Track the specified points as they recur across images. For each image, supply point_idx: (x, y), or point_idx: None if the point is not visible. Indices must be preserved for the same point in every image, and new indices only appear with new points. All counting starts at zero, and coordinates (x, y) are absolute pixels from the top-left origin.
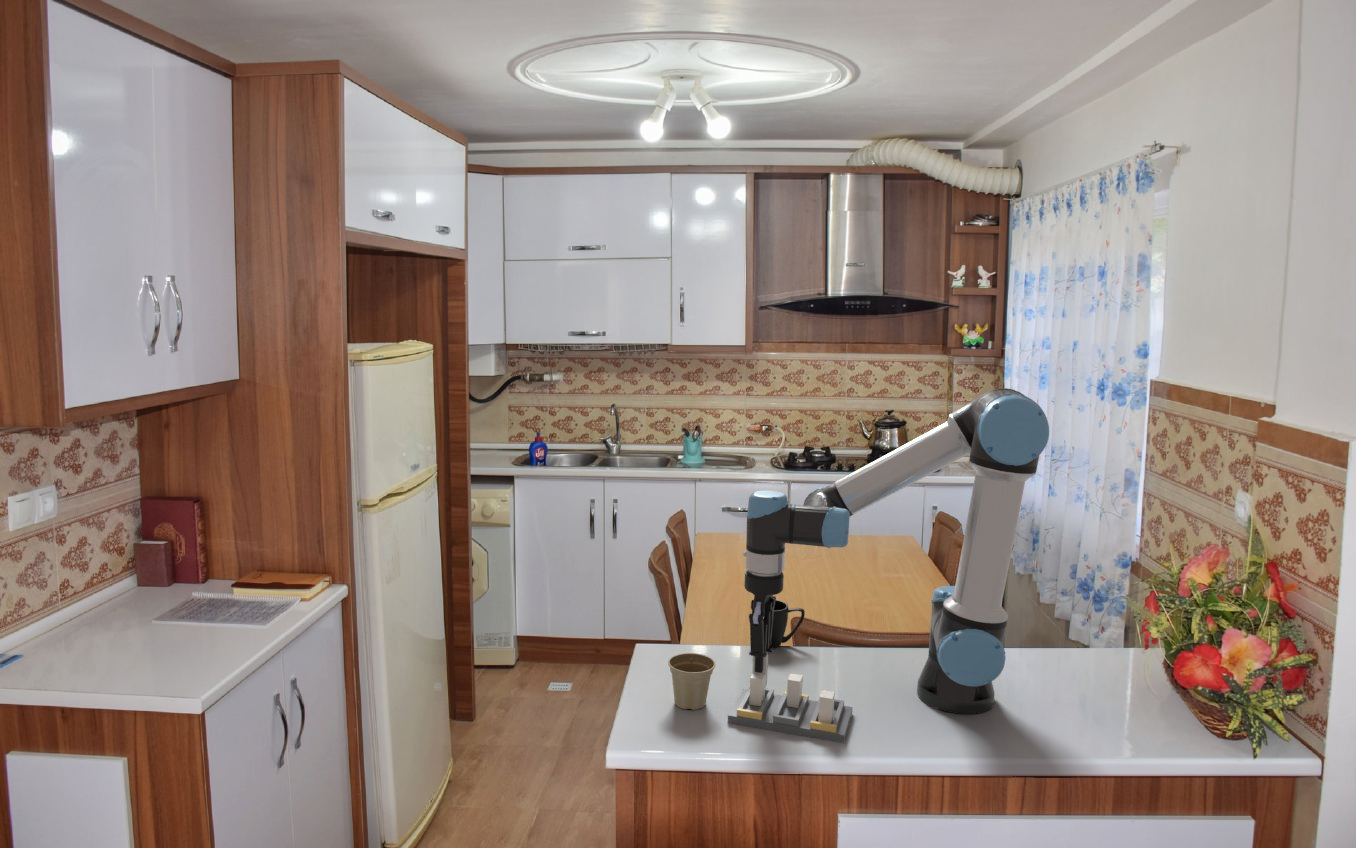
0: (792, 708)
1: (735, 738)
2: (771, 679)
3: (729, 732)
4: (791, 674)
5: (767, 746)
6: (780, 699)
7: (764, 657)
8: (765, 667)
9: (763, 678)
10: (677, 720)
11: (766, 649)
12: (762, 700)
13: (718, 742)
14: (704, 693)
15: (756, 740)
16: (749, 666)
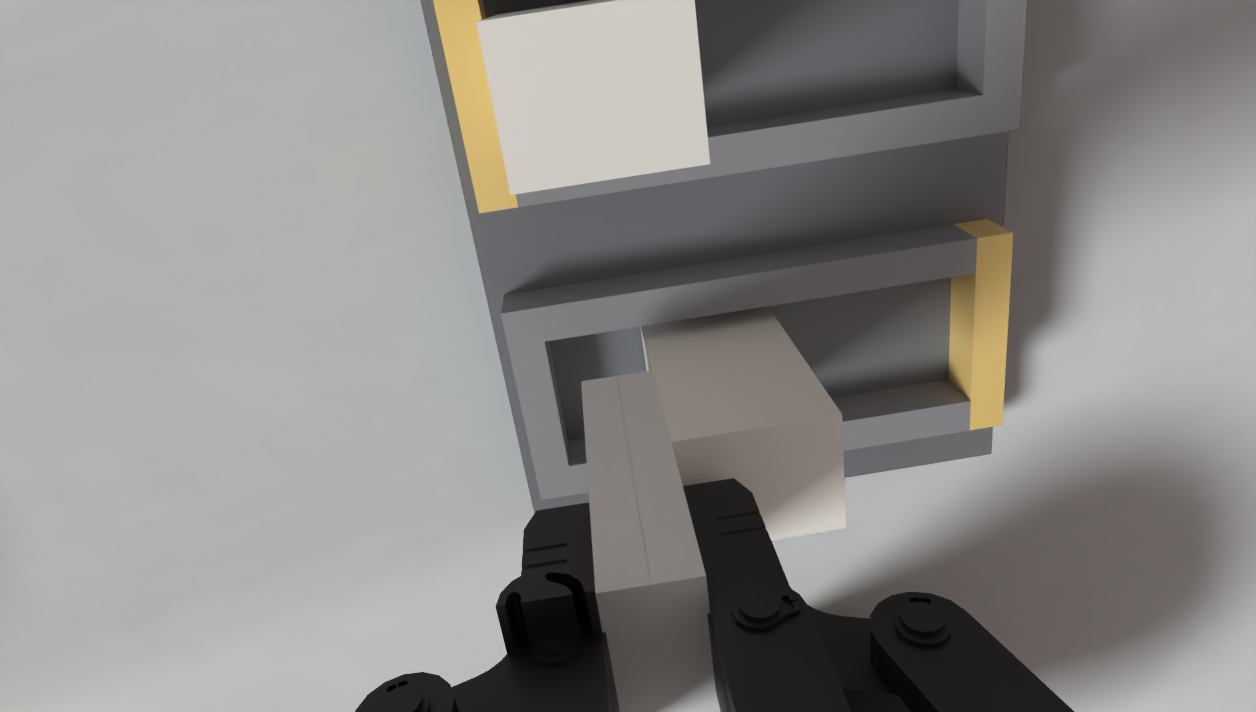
0: None
1: (1162, 300)
2: (127, 433)
3: (1090, 365)
4: (539, 174)
5: (1229, 50)
6: (553, 213)
7: (701, 586)
8: (680, 488)
9: (788, 419)
10: (1029, 660)
11: (607, 661)
12: (736, 323)
13: (1238, 370)
14: None
15: (1157, 160)
16: (41, 640)
